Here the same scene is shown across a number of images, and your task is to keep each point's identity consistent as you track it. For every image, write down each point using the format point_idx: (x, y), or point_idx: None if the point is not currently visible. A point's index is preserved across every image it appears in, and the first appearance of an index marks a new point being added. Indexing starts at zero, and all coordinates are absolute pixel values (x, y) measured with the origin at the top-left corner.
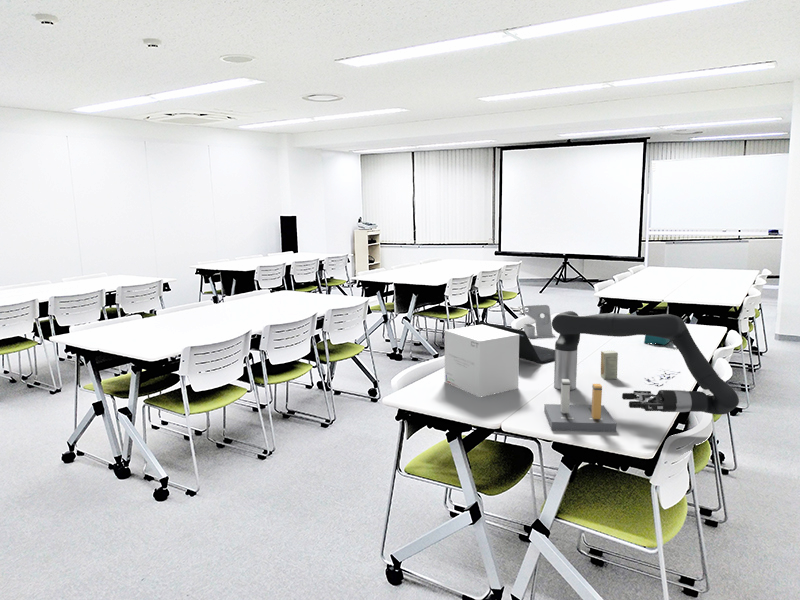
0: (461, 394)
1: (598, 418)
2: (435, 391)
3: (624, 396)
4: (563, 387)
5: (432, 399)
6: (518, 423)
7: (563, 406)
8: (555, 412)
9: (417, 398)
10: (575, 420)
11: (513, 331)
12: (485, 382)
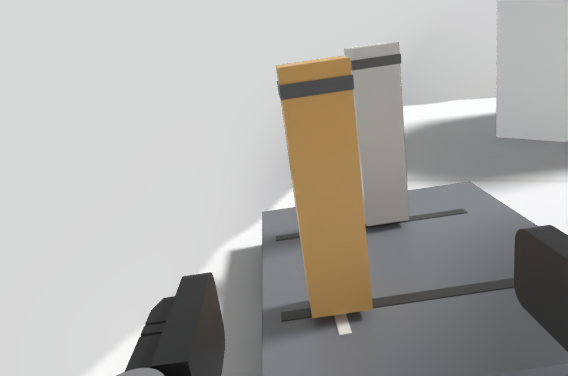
0: (494, 124)
1: (310, 306)
2: (481, 111)
3: (529, 272)
4: None
5: (424, 119)
6: None
7: None
8: None
9: (417, 113)
10: (290, 251)
11: None
12: (520, 94)
